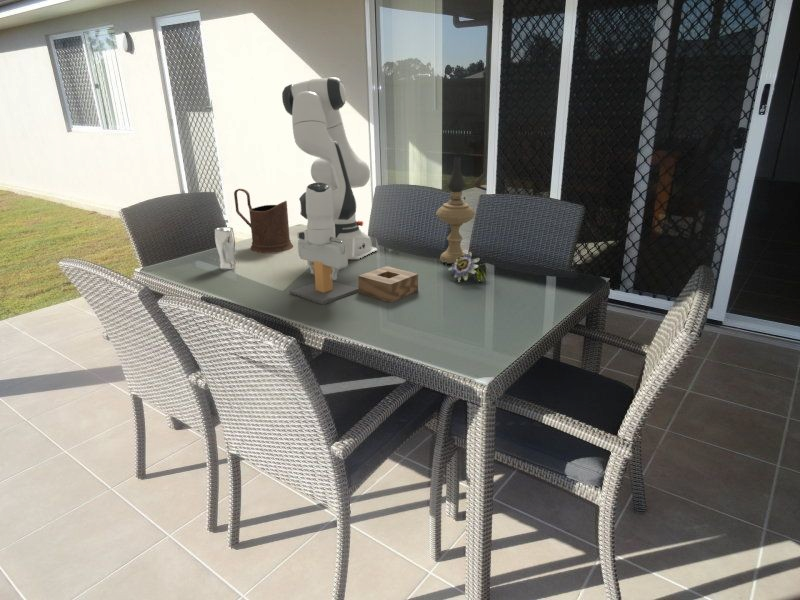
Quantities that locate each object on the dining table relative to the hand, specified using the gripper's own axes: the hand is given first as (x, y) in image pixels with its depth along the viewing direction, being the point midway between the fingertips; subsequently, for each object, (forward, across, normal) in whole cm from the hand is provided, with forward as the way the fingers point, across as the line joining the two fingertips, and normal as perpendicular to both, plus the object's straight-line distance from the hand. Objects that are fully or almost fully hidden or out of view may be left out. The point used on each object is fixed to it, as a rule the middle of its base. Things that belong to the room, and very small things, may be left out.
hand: (323, 276), depth 176 cm
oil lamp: (+6, -12, -58) cm, 60 cm away
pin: (+5, 0, 0) cm, 5 cm away
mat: (+6, 0, 0) cm, 6 cm away
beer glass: (+6, +50, +4) cm, 50 cm away
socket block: (+6, -16, -14) cm, 22 cm away
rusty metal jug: (+6, +64, -24) cm, 69 cm away
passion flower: (+6, -29, -42) cm, 51 cm away
